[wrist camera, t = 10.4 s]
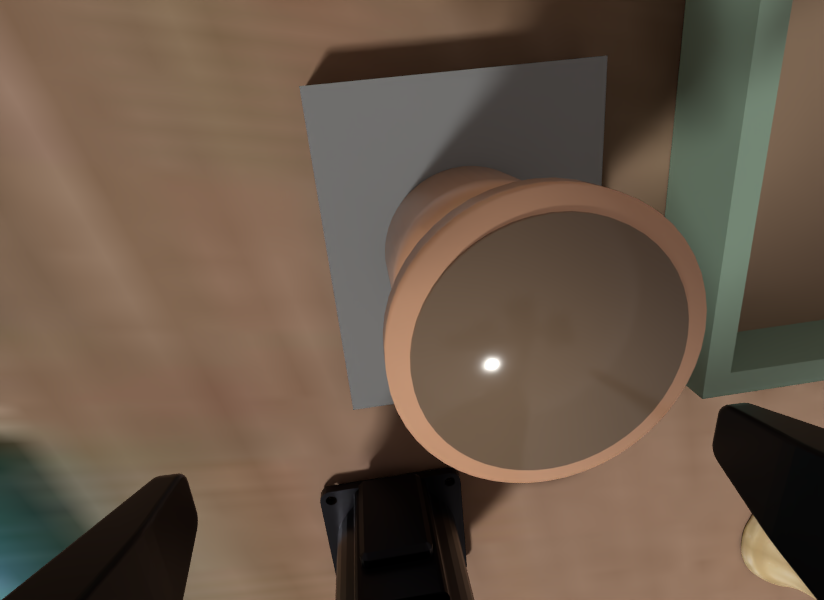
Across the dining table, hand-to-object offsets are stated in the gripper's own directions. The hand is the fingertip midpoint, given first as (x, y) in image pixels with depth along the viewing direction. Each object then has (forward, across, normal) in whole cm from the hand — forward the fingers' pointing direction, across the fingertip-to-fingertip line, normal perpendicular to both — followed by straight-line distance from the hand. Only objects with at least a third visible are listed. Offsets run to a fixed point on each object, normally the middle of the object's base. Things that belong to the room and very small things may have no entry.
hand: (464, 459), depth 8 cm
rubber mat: (+12, -2, 0) cm, 12 cm away
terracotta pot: (+10, -2, 0) cm, 11 cm away
